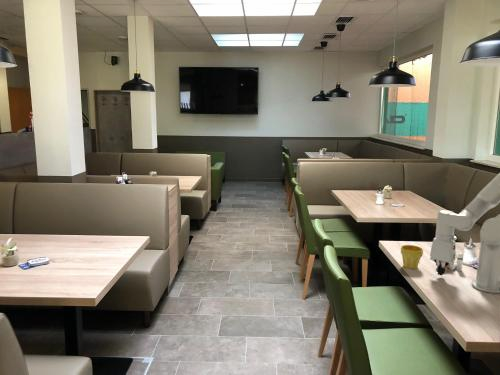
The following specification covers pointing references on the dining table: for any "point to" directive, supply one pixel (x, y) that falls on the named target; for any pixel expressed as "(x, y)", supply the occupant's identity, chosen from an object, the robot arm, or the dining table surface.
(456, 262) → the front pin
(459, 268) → the rear right pin
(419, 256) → the plant pot
